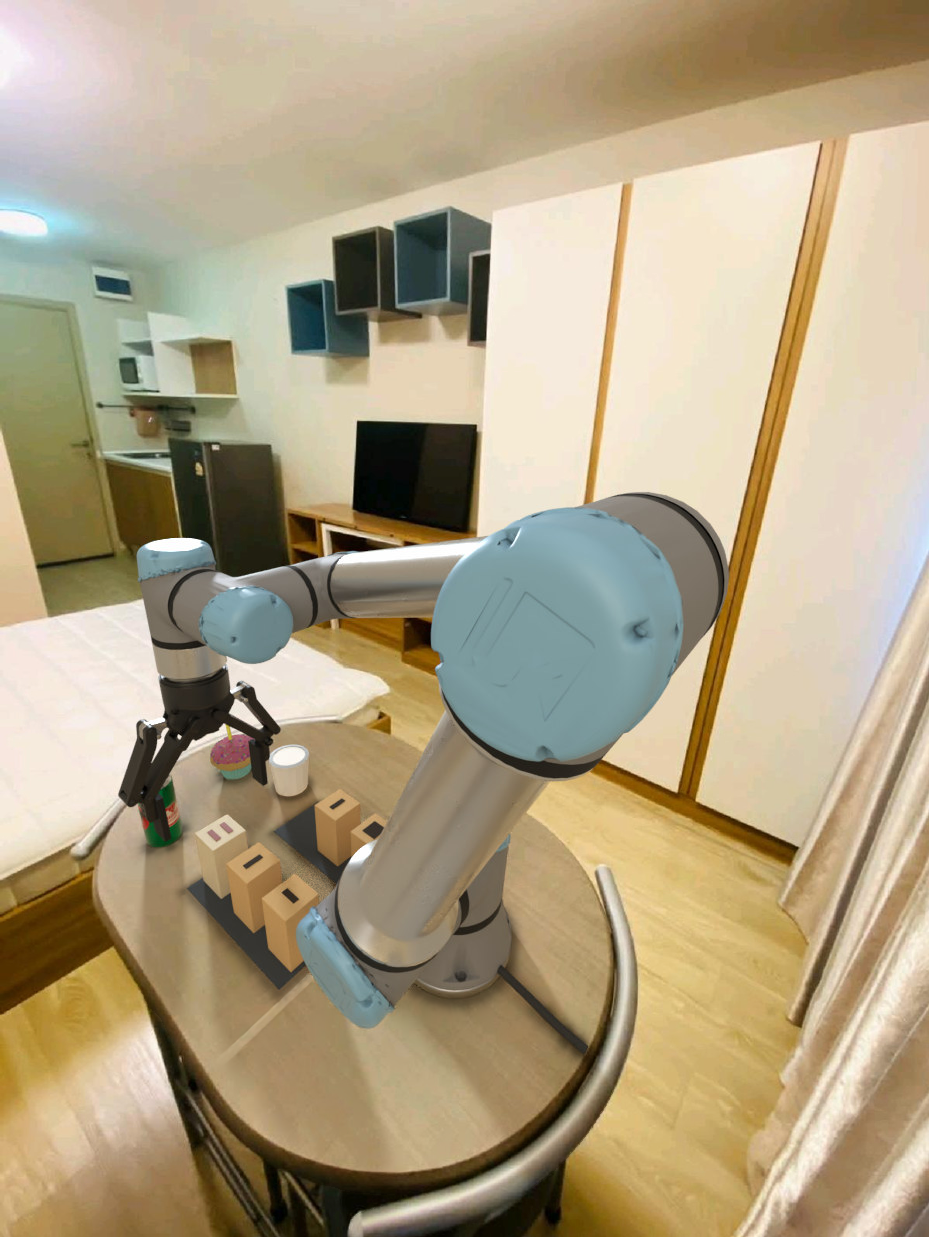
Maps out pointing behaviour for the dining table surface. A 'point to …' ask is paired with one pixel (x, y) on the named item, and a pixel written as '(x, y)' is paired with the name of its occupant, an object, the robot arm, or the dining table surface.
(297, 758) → the white cup
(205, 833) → the cream block
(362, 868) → the robot arm
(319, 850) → the right word board
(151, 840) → the soda can
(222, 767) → the cupcake
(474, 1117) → the dining table surface
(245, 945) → the left word board
